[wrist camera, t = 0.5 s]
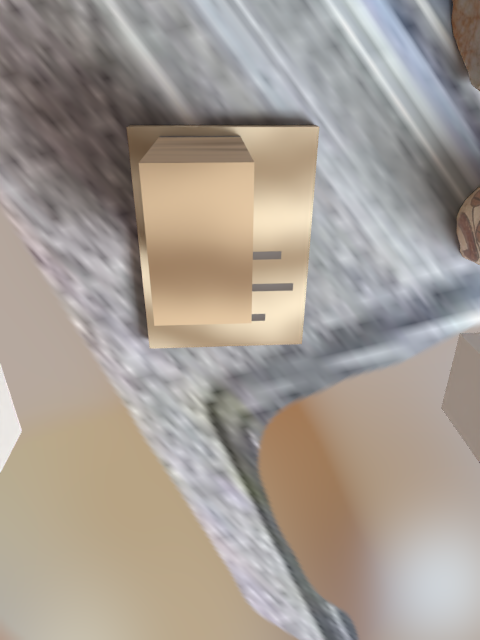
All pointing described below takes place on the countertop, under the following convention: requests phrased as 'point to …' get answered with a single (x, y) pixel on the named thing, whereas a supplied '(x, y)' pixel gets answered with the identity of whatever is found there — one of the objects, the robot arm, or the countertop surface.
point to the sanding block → (199, 229)
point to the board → (268, 233)
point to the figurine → (470, 227)
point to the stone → (468, 35)
